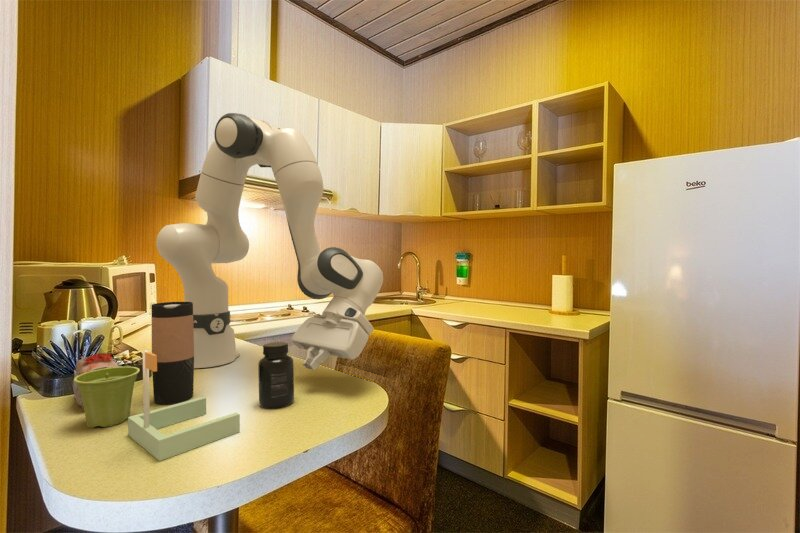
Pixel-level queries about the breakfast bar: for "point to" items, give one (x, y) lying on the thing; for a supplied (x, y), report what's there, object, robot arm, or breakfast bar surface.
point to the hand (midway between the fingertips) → (308, 367)
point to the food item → (91, 369)
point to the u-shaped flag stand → (181, 441)
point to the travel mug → (173, 352)
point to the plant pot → (107, 394)
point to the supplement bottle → (276, 376)
